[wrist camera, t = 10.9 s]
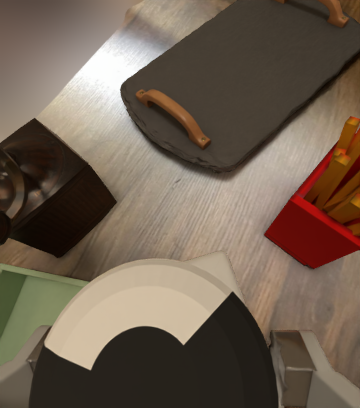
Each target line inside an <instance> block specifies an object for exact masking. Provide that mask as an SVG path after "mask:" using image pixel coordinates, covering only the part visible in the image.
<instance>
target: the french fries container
mask: <svg viewBox="0 0 360 408" xmlns="http://www.w3.org/2000/svg"><path fill="white" fill-rule="evenodd" d="M359 124H360V119H358V118H355V117H351V116H350V117H349V119H348V120H347V121H346V122H345V125H344V127H343V130H342V133H341V136H340V138H339V140H338V142H337V143H336V144H335V145H334V146H333V148H332V149H331V150H330V151H329V152H328V154H327V155H326V156H325V157H324V158H323V160H322V161H321V162H320V163H319V164H318V166H317V167H316V168H315V169H314V170H313V172H312V173H311V174H310V175H309V176H308V178H307V179H306V180H305V181H304V182H303V184H302V185H301V186H300V187H299V189H298V190H297V191H296V192H295V193H294V195H293V196H292V197H291V198H290V199H289V201H288V202H287V203H286V205H285V206H284V208H283V209H282V210H281V212H280V213H279V214H278V216H277V217H276V219H275V220H274V221H273V223H272V224H271V225H270V227H269V228H268V230H267V231H266V232H265V234H264V235H265V236H266V237H267V238H269V239H270V240H271V241H273V242H274V243H275V244H277V245H278V246H279V247H281V248H282V249H283V250H285V251H286V252H287V253H289V254H290V255H291V256H292V257H294V258H295V259H296V260H298V261H299V262H300V263H302V264H303V265H306V264H307V265H309V266H310V267H311V268H313V269H315V268H317V267H320V266H322V265H324V264H327V263H329V262H331V261H334V260H336V259H339V258H341V257H343V256H346V255H348V254H351V253H353V252H355V251H358V250H360V128H359V130H358V131H357V128H358V126H359ZM356 131H357V133H356ZM355 133H356V134H355Z"/></svg>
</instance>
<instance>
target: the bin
mask: <svg viewBox="0 0 360 408" xmlns="http://www.w3.org/2000/svg"><path fill="white" fill-rule="evenodd" d="M88 283H90V282H88V281H83V280H78V279H73V278H69V277H64V276H59V275H54V274H50V273H45V272H40V271H36V270H31V269H26V268H21V267H17V266H12V265H7V264H2V263H1V264H0V366H1V365H3V364H4V363H6V362H7V361H12V360H13V359H14V357H15V356H16V355H17V354H18V352H19V351H20V350H21V348H22V347H23V346H24V344H25V343H26V342H27V340H28V339H29V338H30V336H31V335H32V334H33V333H34V331H35V330H36V329H37V328H38V327H39V326H41V325H48V326H53V324H54V323H55V321H56V319H57V318H58V316H59V315H60V313H61V312H62V310H63V309H64V308H65V307H66V305H67V304H68V303H69V302H70V301H71V299H72V298H73V297H74V296H75V295H76V294H77V293H78V292H79V291H80V290H81V289H82V288H83V287H85V286H86V285H87V284H88Z"/></svg>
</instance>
